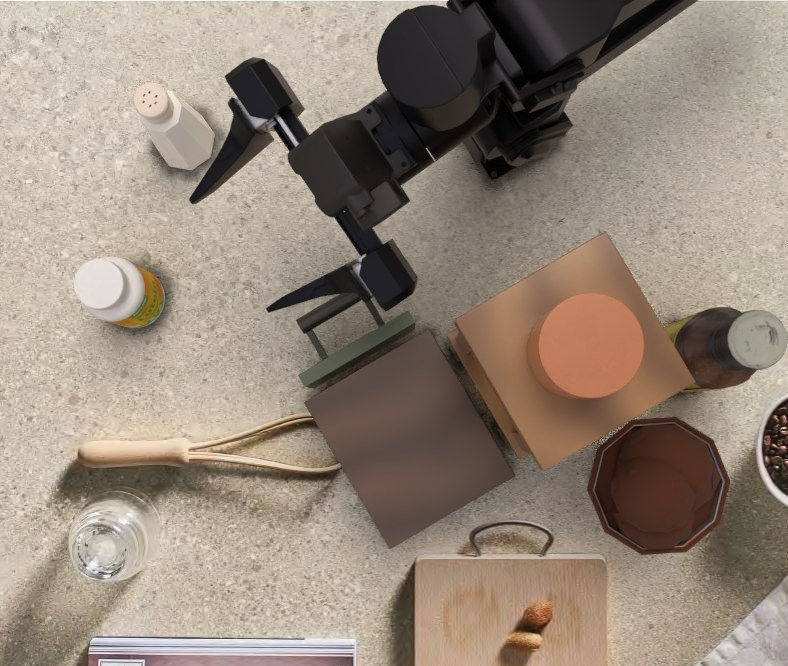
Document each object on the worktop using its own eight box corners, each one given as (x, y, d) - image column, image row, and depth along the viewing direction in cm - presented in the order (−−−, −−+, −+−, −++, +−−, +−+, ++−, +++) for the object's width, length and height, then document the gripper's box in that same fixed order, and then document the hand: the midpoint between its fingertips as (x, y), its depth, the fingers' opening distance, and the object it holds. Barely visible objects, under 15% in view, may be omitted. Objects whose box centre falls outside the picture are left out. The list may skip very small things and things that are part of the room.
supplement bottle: (159, 334, 79) (124, 324, 69) (101, 322, 79) (58, 310, 69) (171, 275, 79) (138, 257, 69) (113, 263, 79) (72, 243, 69)
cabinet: (315, 402, 79) (303, 402, 70) (426, 336, 79) (429, 328, 70) (391, 533, 78) (389, 549, 70) (504, 468, 78) (515, 476, 70)
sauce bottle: (722, 336, 78) (828, 312, 58) (700, 402, 78) (798, 401, 58) (652, 311, 78) (734, 280, 58) (629, 378, 78) (704, 369, 58)
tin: (592, 285, 55) (610, 273, 50) (641, 368, 55) (664, 364, 50) (508, 333, 55) (518, 326, 50) (557, 416, 55) (572, 417, 50)
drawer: (283, 335, 78) (270, 329, 71) (384, 276, 78) (381, 263, 71) (378, 499, 78) (375, 508, 71) (480, 440, 77) (487, 443, 71)
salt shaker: (227, 132, 79) (197, 88, 68) (195, 182, 79) (160, 147, 68) (176, 100, 79) (139, 51, 68) (144, 151, 79) (101, 110, 68)
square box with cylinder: (547, 283, 78) (606, 230, 55) (610, 389, 78) (696, 382, 55) (441, 345, 79) (454, 319, 55) (503, 451, 78) (543, 471, 55)
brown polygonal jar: (651, 560, 78) (707, 597, 63) (543, 493, 78) (575, 514, 63) (714, 459, 78) (786, 471, 63) (607, 392, 78) (653, 389, 63)
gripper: (311, -25, 50) (104, 137, 53) (490, 248, 53) (283, 387, 56) (338, 15, 61) (165, 147, 64) (486, 239, 64) (313, 356, 67)
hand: (230, 256), depth 62 cm, fingers open, 9 cm apart
